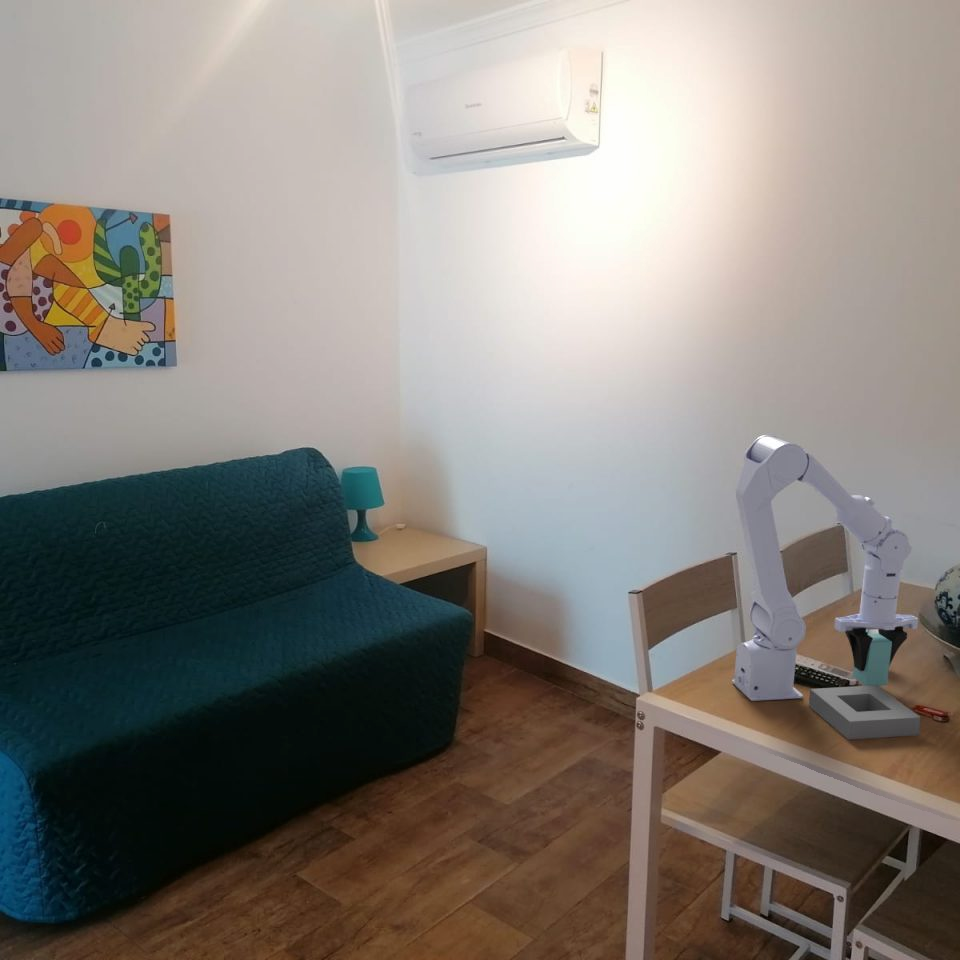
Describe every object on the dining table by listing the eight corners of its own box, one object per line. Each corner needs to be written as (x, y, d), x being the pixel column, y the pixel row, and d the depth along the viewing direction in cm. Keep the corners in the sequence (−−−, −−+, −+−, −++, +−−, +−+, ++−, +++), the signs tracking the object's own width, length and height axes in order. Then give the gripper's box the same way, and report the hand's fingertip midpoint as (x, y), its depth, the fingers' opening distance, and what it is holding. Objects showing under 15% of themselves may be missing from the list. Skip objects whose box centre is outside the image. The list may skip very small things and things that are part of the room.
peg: (865, 686, 160) (870, 642, 158) (852, 677, 164) (857, 634, 162) (886, 685, 161) (892, 641, 159) (873, 676, 165) (878, 633, 163)
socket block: (847, 739, 143) (849, 721, 143) (808, 705, 155) (810, 688, 154) (918, 734, 145) (920, 717, 145) (874, 701, 157) (876, 685, 156)
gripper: (853, 602, 154) (845, 679, 157) (932, 600, 156) (923, 675, 159) (831, 589, 161) (823, 663, 164) (907, 586, 163) (898, 659, 166)
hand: (871, 668), depth 162 cm, fingers closed on peg, 4 cm apart
